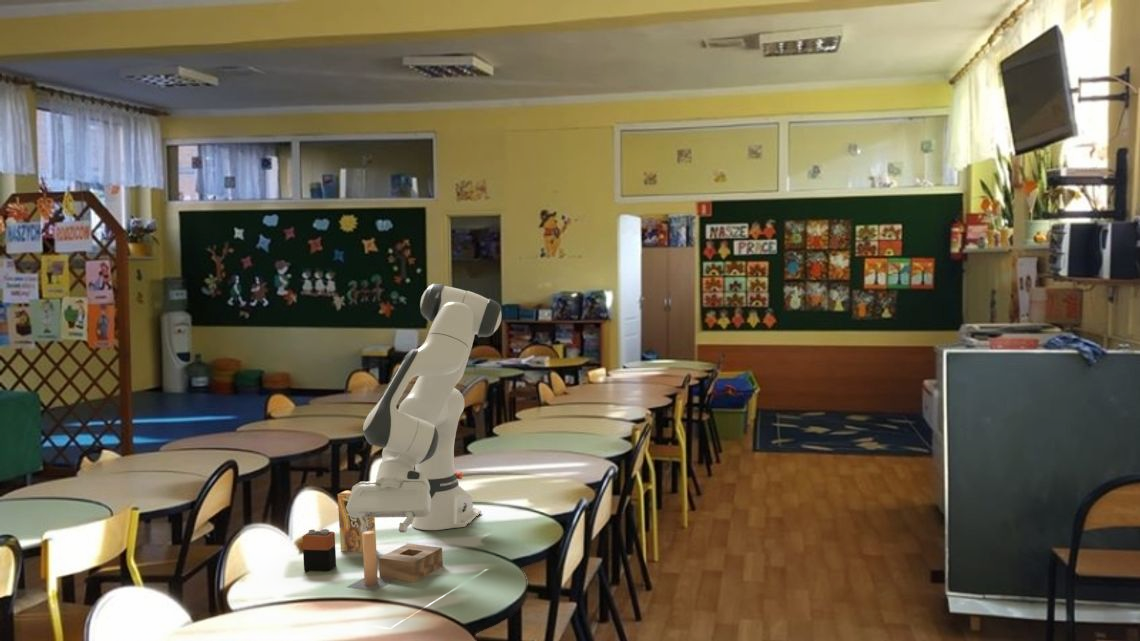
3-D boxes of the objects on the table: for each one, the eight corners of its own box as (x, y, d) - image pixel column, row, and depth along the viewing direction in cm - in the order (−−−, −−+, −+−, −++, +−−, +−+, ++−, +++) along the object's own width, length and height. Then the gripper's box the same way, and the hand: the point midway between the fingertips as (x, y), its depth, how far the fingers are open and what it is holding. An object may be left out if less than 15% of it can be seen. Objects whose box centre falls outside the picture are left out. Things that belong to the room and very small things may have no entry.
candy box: (377, 549, 243) (374, 492, 242) (367, 554, 239) (364, 496, 238) (349, 546, 246) (346, 489, 245) (339, 551, 242) (336, 493, 241)
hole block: (409, 563, 231) (408, 543, 230) (442, 567, 226) (442, 547, 226) (379, 578, 220) (378, 557, 220) (414, 583, 216) (413, 562, 215)
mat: (368, 577, 221) (368, 575, 221) (395, 581, 217) (395, 579, 217) (346, 588, 214) (346, 586, 214) (374, 592, 210) (374, 591, 210)
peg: (370, 580, 217) (367, 530, 217) (380, 582, 216) (378, 531, 215) (361, 584, 215) (359, 534, 214) (372, 586, 213) (370, 535, 213)
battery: (329, 573, 225) (327, 532, 224) (303, 572, 226) (301, 532, 226) (337, 567, 229) (335, 527, 229) (311, 566, 231) (309, 527, 230)
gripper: (349, 475, 227) (337, 525, 218) (430, 473, 224) (420, 524, 215) (357, 488, 231) (345, 538, 222) (436, 487, 229) (427, 537, 219)
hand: (383, 531), depth 218 cm, fingers open, 8 cm apart
